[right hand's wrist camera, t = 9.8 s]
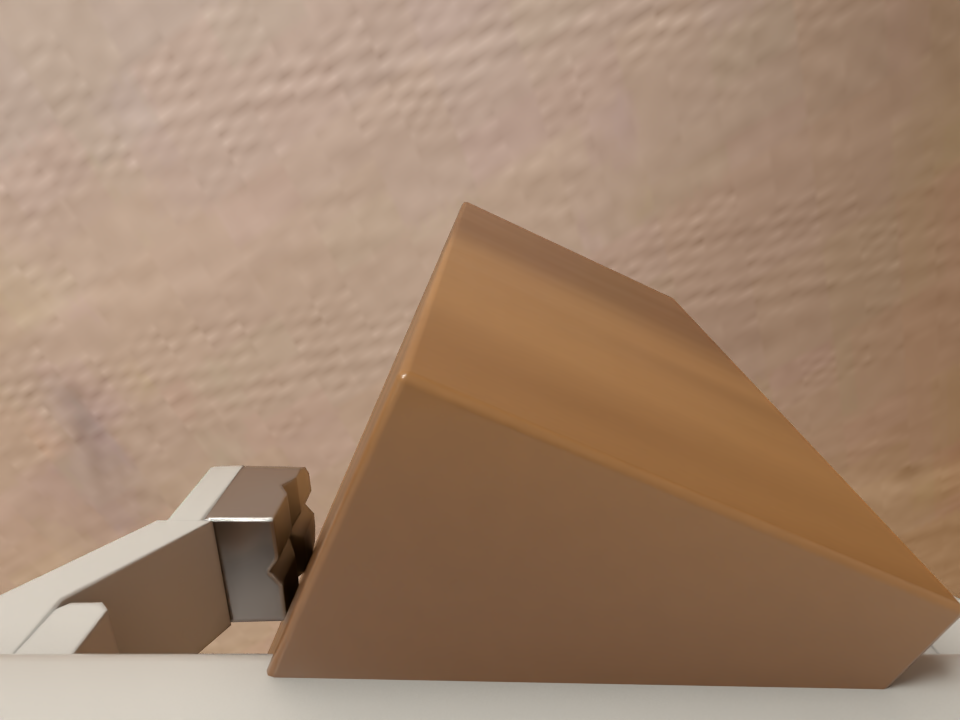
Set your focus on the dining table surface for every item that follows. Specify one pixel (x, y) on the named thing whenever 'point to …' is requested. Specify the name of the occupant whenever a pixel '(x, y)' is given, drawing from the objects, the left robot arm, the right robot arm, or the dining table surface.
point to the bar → (592, 504)
